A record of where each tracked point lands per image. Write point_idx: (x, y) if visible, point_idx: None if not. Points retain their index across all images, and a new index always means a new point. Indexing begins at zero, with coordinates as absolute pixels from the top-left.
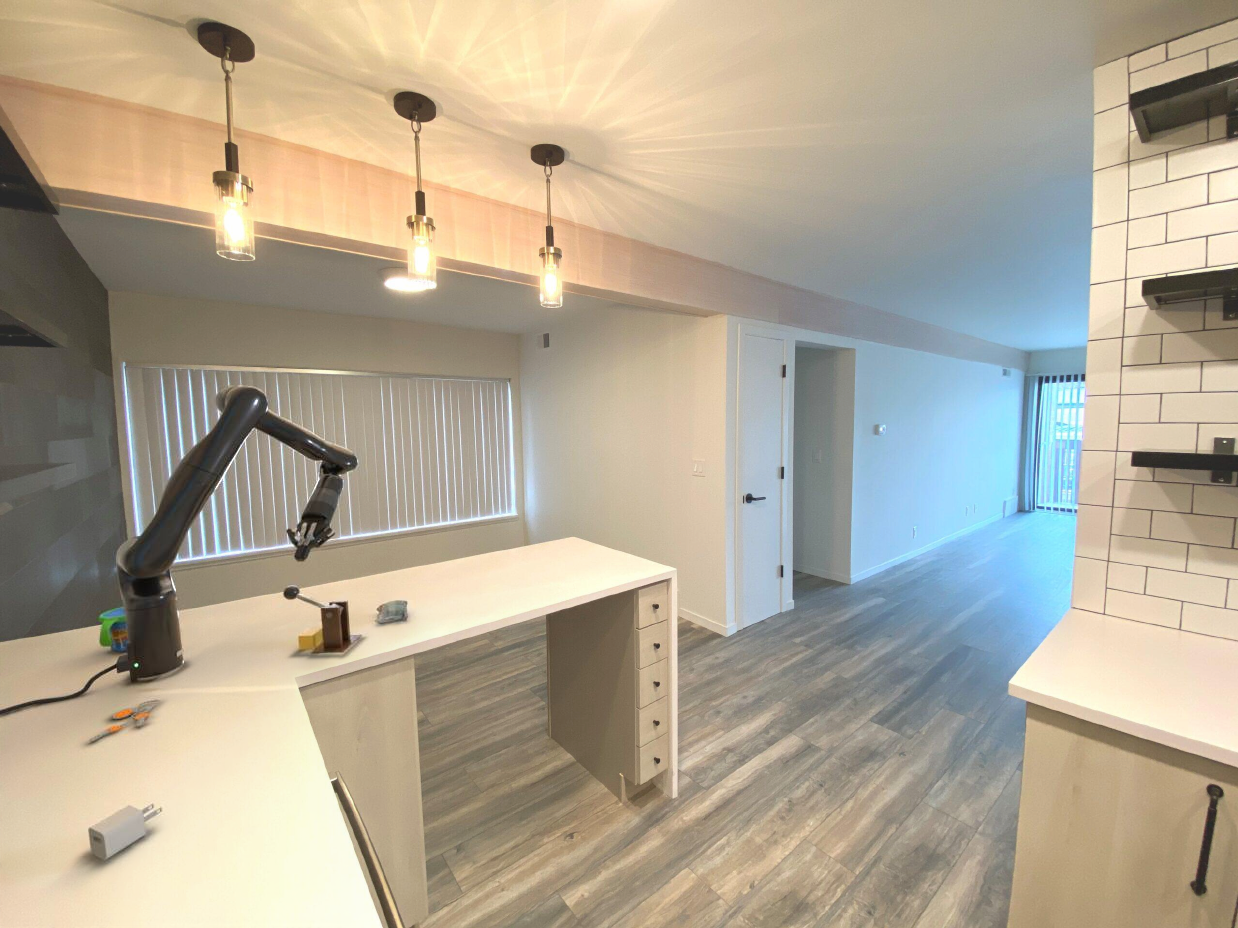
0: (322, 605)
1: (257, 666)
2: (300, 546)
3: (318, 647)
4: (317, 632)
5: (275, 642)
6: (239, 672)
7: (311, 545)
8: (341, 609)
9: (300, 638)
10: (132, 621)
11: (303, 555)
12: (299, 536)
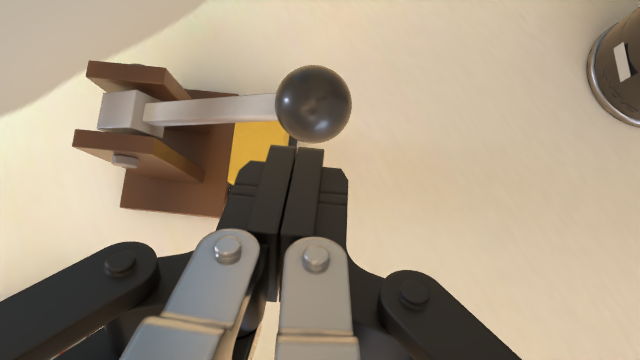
0: (170, 101)
1: (373, 65)
2: (300, 229)
3: (229, 126)
4: (233, 143)
5: (412, 229)
6: (403, 37)
7: (178, 263)
8: (101, 110)
9: None
10: None
11: (253, 171)
12: (353, 343)
